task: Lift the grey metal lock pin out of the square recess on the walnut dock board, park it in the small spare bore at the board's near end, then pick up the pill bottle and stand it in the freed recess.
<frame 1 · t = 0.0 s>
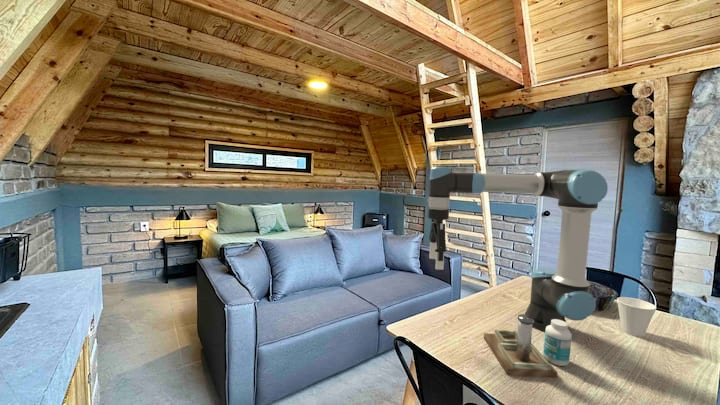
hand: (435, 263, 114), 28 cm above the table, fingers open, 13 cm apart
dock board: (516, 356, 103), on the table
pill bottle: (555, 360, 102), on the table
cup: (632, 332, 122), on the table
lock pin: (522, 358, 99), point 2 cm above the table, touching dock board
decorative bowl: (581, 303, 150), on the table
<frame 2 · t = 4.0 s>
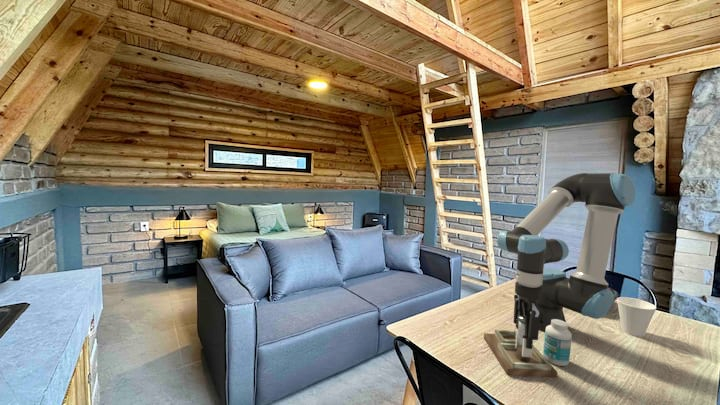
hand: (523, 351, 99), 4 cm above the table, fingers closed on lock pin, 4 cm apart
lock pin: (522, 358, 99), point 2 cm above the table, touching dock board, gripper
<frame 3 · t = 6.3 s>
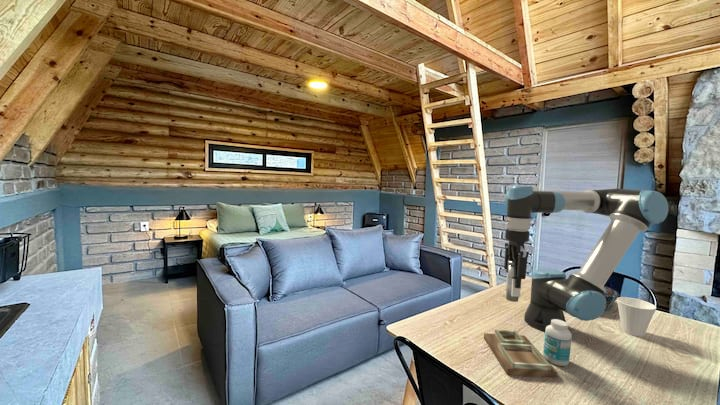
hand: (512, 293, 108), 20 cm above the table, fingers closed on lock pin, 4 cm apart
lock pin: (512, 299, 108), point 18 cm above the table, touching gripper
everything else where it was.
when the fingers open (5 cm above the table, at t = 9.1 s): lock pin stays where it is, resting on dock board.
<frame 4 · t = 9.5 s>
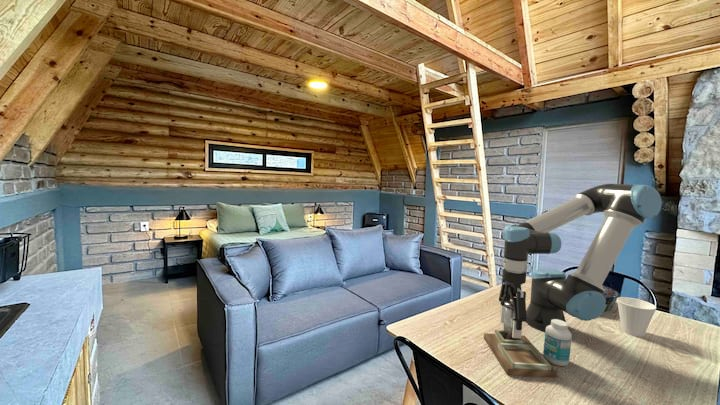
hand: (510, 329, 109), 6 cm above the table, fingers open, 10 cm apart
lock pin: (508, 340, 109), point 2 cm above the table, touching dock board
everything else where it was.
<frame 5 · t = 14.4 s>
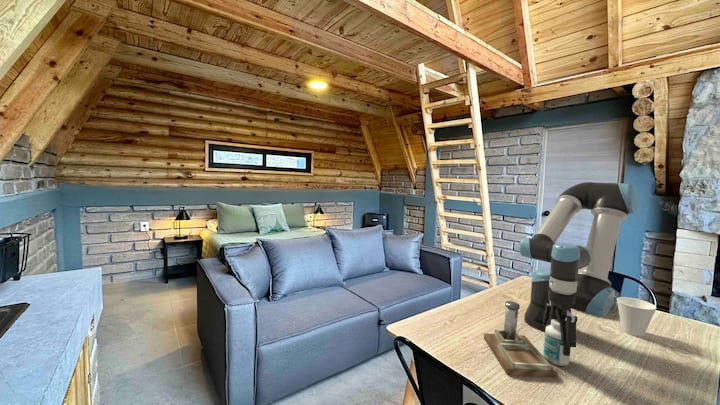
hand: (556, 355, 101), 2 cm above the table, fingers closed on pill bottle, 7 cm apart
pill bottle: (555, 360, 102), on the table, touching gripper
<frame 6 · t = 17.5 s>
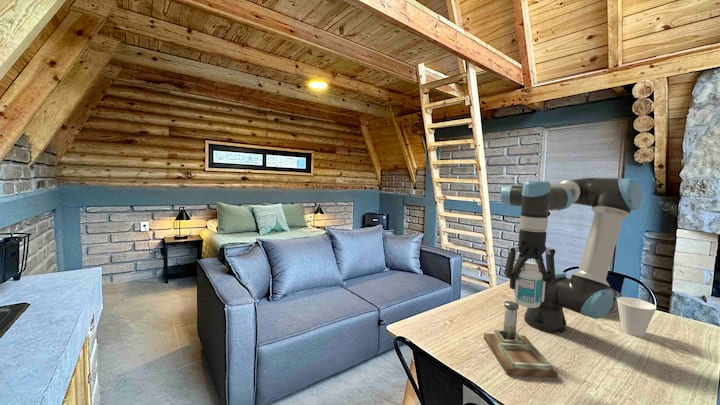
hand: (527, 299, 97), 22 cm above the table, fingers closed on pill bottle, 7 cm apart
pill bottle: (526, 304, 97), point 20 cm above the table, touching gripper
when the fingers open (5 cm above the table, at t = 20.9 s): pill bottle drops 1 cm, resting on dock board.
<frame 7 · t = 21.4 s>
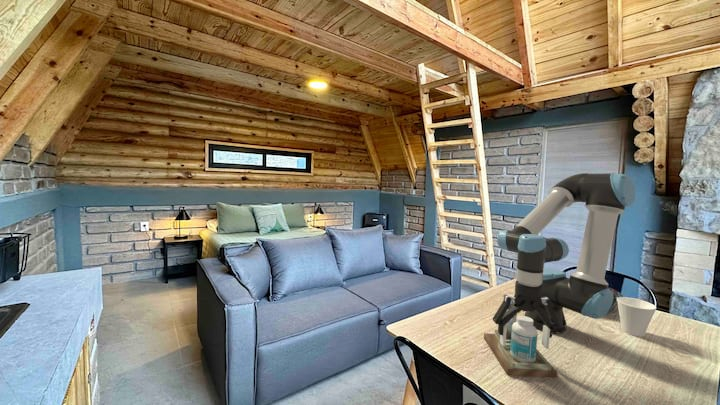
hand: (523, 345, 99), 6 cm above the table, fingers open, 13 cm apart
pill bottle: (522, 358, 99), point 2 cm above the table, touching dock board
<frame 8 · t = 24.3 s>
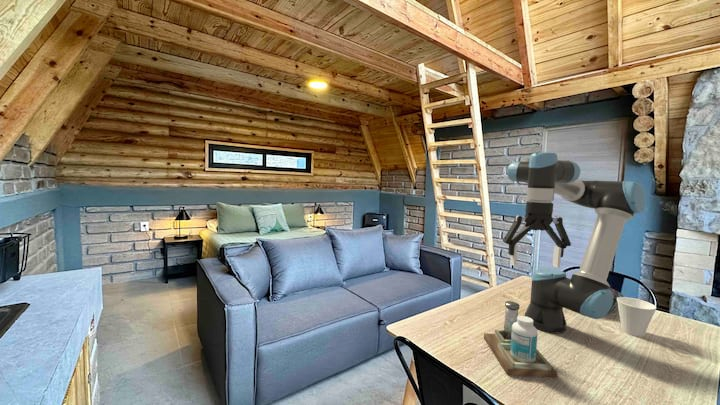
hand: (534, 265, 98), 33 cm above the table, fingers open, 13 cm apart
at the end: pill bottle inside the target area on the dock board (0.1 cm from its centre), point 1.8 cm above the dock board's base; pill bottle tilted 0°; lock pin 0.1 cm from the target spot on the dock board, point 2.1 cm above the dock board's base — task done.
